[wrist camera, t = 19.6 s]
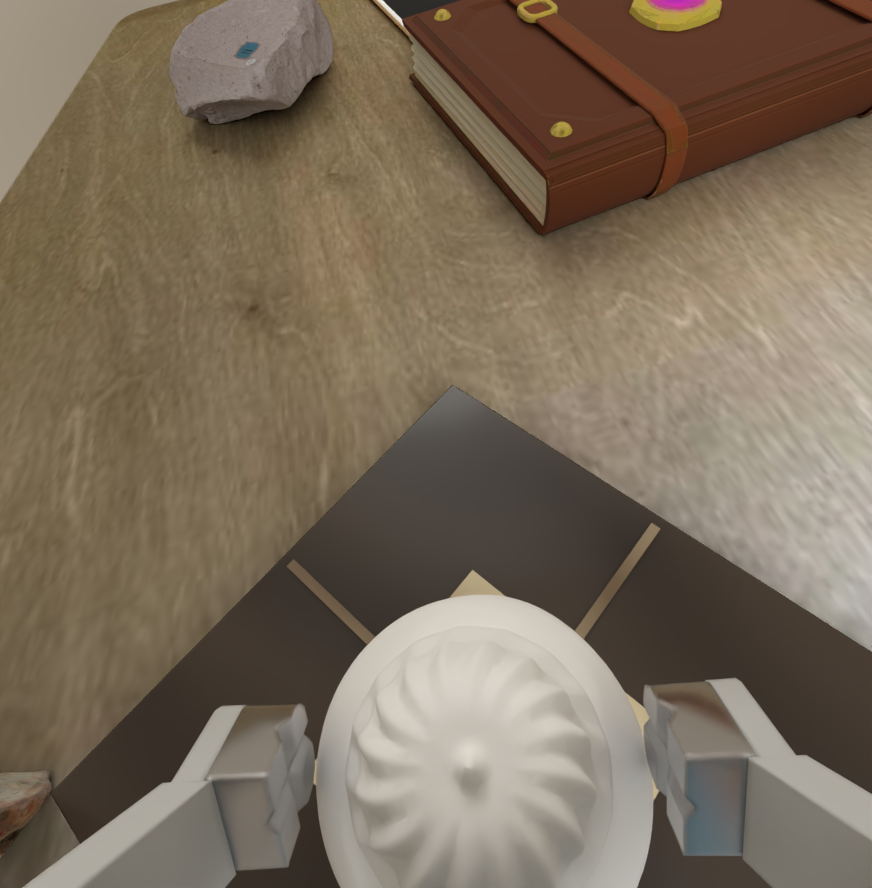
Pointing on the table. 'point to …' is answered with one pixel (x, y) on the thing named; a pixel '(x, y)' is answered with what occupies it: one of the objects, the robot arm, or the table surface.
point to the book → (634, 89)
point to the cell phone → (408, 8)
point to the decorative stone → (249, 57)
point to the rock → (20, 801)
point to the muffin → (483, 757)
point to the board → (504, 574)
